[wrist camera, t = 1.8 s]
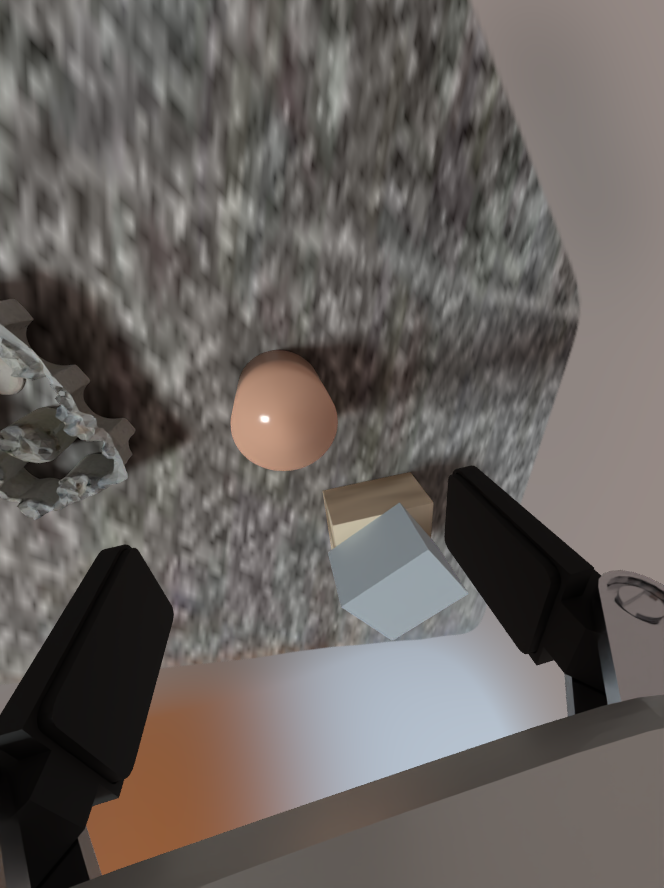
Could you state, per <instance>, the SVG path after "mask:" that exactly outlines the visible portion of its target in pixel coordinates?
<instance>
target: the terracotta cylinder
mask: <svg viewBox="0 0 664 888" xmlns="http://www.w3.org/2000/svg"><path fill="white" fill-rule="evenodd" d="M337 424H338V420H337V412H336V409H335V406H334V403H333V402H332V400H331V398H330V396H329V394H328V392H327V391H326V389H325V387H324V385H323V384H322V382H321V380H320V378H319V376H318V375H317V373H316V371H315V369H314V368H313V367H312V365H311V364H310V363H309V362H308V361H307V360H305V359H304V358H303V357H301V356H300V355H298V354H295V353H293V352H289V351H284V350H273V351H268V352H264V353H262V354H260V355H258V356H256V357H255V358H253V359H252V360H251V361H250V362H249V363H248V364H247V365H246V366H245V367H244V369H243V371H242V372H241V375H240V377H239V381H238V386H237V391H236V396H235V401H234V406H233V411H232V416H231V432H232V436H233V439H234V441H235V444H236V445H237V447H238V449H239V450H240V451H241V453H242V454H243V455H244V456H245V457H246V458H247V459H249V460H250V461H251V462H253V463H255V464H257V465H259V466H261V467H263V468H267V469H270V470H276V471H290V470H296V469H300V468H303V467H305V466H308V465H310V464H312V463H313V462H315V461H316V460H318V459H319V458H320V457H321V456H323V455H324V454H325V452H326V451H327V450H328V449H329V447H330V446H331V444H332V442H333V440H334V438H335V435H336V431H337Z"/></svg>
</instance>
